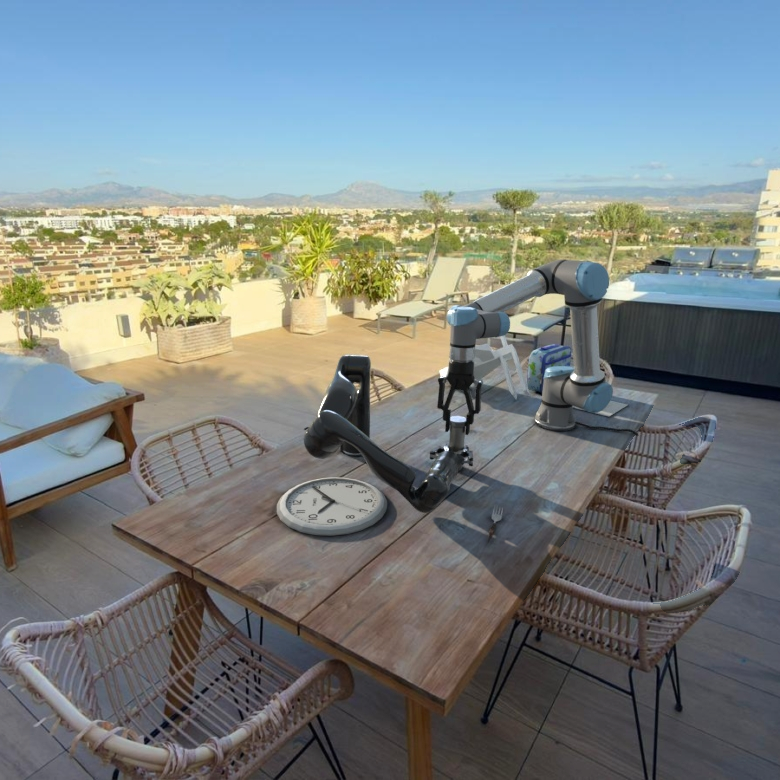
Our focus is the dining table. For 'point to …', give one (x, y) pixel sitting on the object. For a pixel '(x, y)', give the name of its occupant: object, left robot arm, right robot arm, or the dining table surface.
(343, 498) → the wall clock
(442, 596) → the dining table surface
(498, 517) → the fork
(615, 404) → the invitation card
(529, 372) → the lunch box
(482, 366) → the white plastic object
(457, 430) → the jar
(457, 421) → the lid
